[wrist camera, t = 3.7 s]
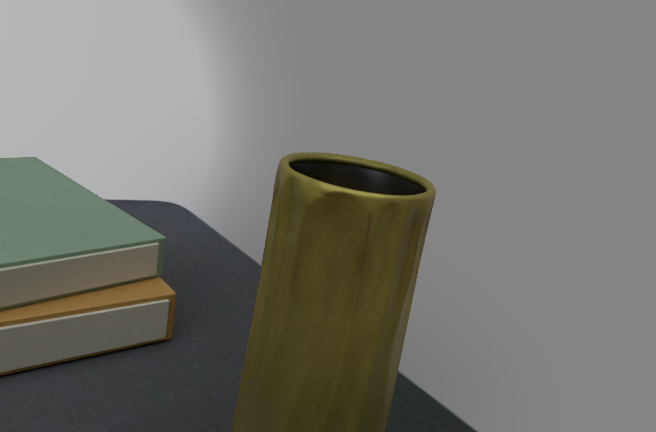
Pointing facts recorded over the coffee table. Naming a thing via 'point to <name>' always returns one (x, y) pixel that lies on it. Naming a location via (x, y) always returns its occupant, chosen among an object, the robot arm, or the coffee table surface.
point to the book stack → (73, 272)
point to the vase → (333, 295)
